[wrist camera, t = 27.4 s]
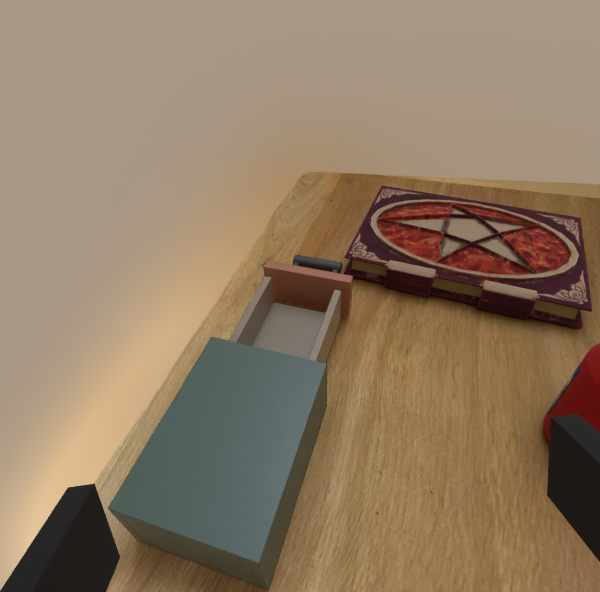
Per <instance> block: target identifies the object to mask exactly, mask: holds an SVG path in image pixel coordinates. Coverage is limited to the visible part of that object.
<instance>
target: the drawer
mask: <svg viewBox="0 0 600 592" xmlns="http://www.w3.org/2000/svg"><path fill="white" fill-rule="evenodd" d="M341 270H342V263H341V262H335V261H330V260H324V259H318V258H312V257H306V256H301V255H295V256H294V259H293V265H289V264H284V263H278V262H273V261H266V263H265V265H264V275H265V277H264V279H263V281H262V283H261V284H260V286H259V288H258V290H257V292H256V293H255V295H254V297H253V299H252V300H251V302H250V304H249V306H248V308H247V309H246V311H245V313H244V315H243V316H242V318H241V320H240V322H239V324H238V325H237V327H236V329H235V331H234V332H233V334H232V336H231V338H230V339H229V341H232V342H236V343H241V344H245V345H249V346H253V347H258V348H262V349H266V350H270V351H275V352H279V353H283V354H288V355H292V356H296V357H300V358H305V359H309V360H313V361H317V362H322V363H326V361H327V358H328V355H329V352H330V349H331V346H332V343H333V340H334V337H335V334H336V331H337V329H338V326H339V323H340V314H345V315H349V313H350V310H351V299H352V283H353V276H350V275H345V274H340V273H341ZM274 300H276V301H281V302H286V303H291V304H296V305H301V306H306V307H311V308H315V309H320V310H325V311H326V313H324V312H319V311H314V310H309V309H304V308H299V307H295V306H290V305H285V304H280V303H275V302H274Z"/></svg>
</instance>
